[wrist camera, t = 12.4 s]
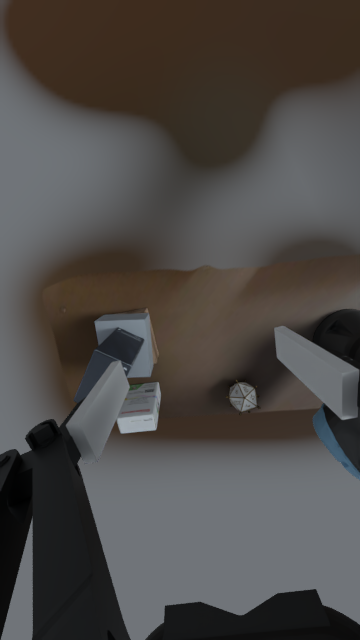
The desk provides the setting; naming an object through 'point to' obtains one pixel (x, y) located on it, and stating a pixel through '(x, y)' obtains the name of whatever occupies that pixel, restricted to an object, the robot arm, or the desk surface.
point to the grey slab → (136, 326)
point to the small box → (110, 358)
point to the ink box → (140, 408)
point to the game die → (243, 396)
